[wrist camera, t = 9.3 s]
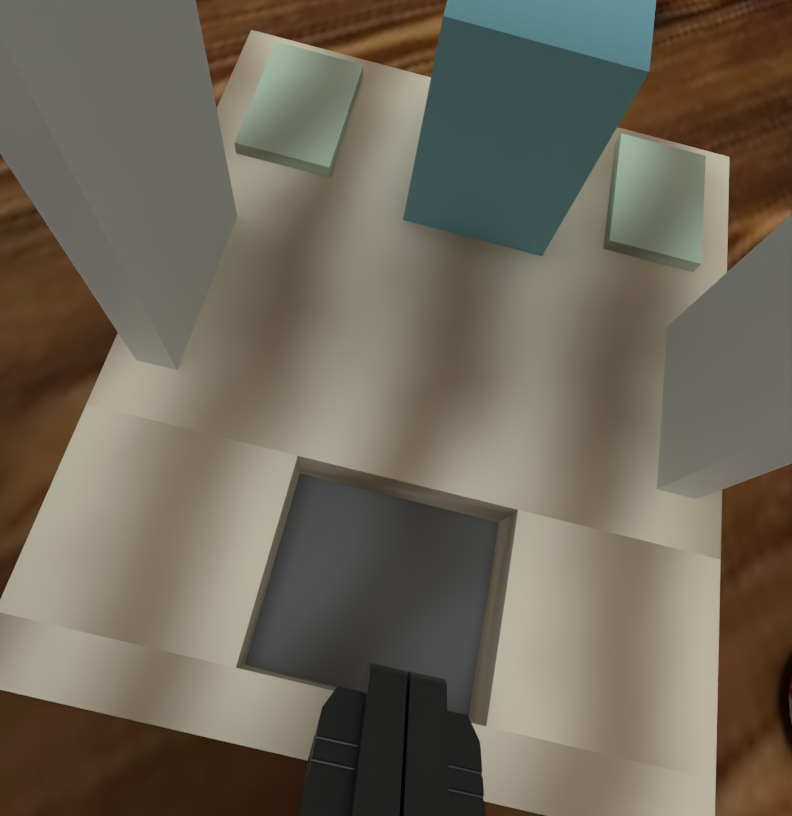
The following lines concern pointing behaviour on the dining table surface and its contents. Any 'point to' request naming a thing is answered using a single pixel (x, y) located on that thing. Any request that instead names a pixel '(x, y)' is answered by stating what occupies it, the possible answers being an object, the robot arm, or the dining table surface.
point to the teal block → (523, 112)
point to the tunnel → (216, 214)
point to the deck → (400, 466)
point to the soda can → (790, 699)
